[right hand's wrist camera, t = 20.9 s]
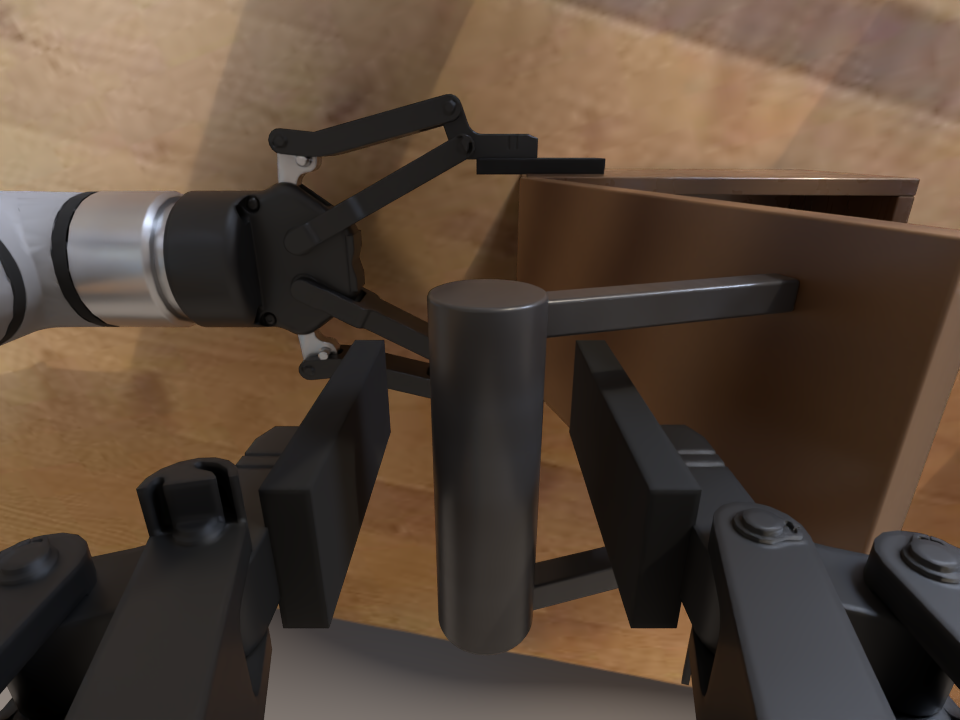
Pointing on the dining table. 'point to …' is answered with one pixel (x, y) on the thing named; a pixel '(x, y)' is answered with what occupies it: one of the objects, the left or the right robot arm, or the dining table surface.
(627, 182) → the chest
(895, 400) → the lid
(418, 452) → the dining table surface
